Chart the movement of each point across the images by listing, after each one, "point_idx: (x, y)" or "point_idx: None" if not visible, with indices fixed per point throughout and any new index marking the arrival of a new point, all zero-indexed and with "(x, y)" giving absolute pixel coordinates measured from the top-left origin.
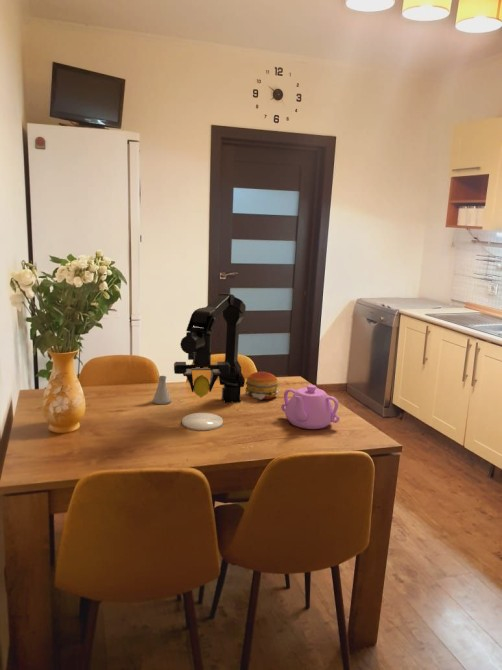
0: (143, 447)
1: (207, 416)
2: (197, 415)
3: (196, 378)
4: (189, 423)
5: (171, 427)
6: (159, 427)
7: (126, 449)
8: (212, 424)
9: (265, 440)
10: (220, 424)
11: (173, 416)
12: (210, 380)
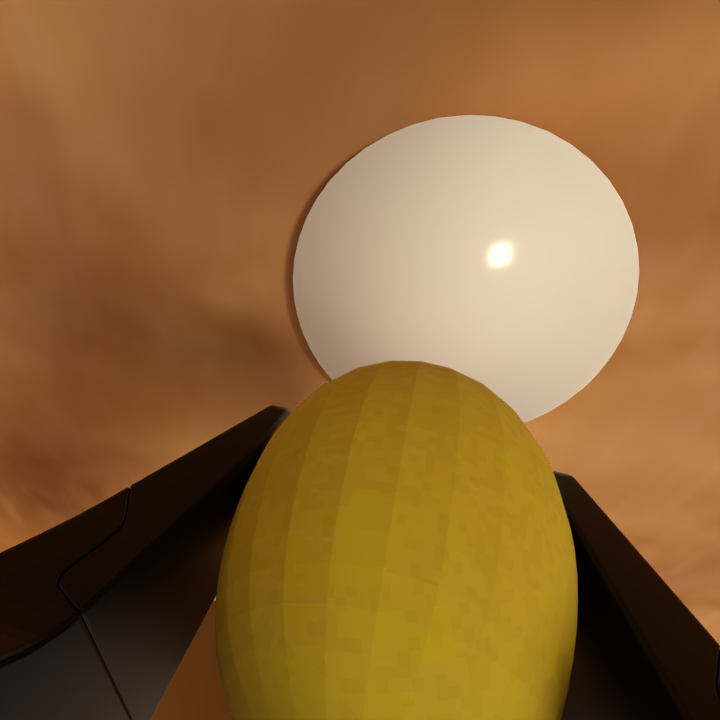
0: (128, 478)
1: (523, 236)
2: (440, 188)
3: (226, 696)
4: (336, 342)
5: (229, 318)
6: (159, 298)
7: (72, 472)
8: None
9: (694, 607)
10: (550, 408)
11: (241, 87)
12: (623, 714)
